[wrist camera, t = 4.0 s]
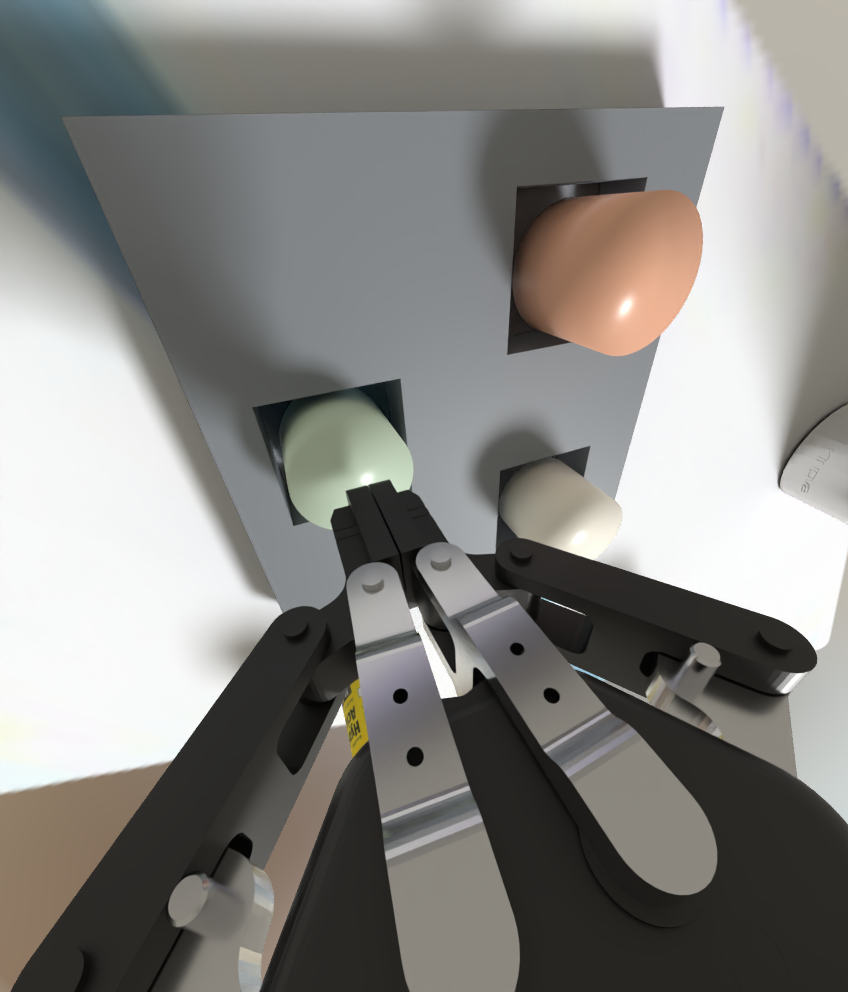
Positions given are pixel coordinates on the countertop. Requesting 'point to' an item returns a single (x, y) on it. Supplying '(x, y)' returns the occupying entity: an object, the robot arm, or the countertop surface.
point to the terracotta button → (609, 268)
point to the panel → (377, 292)
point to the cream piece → (559, 509)
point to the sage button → (339, 451)
